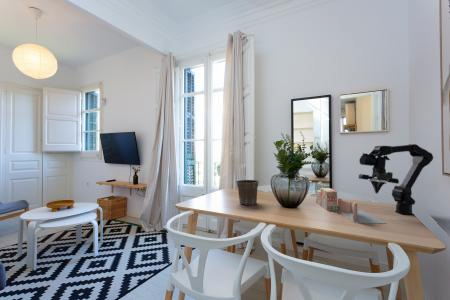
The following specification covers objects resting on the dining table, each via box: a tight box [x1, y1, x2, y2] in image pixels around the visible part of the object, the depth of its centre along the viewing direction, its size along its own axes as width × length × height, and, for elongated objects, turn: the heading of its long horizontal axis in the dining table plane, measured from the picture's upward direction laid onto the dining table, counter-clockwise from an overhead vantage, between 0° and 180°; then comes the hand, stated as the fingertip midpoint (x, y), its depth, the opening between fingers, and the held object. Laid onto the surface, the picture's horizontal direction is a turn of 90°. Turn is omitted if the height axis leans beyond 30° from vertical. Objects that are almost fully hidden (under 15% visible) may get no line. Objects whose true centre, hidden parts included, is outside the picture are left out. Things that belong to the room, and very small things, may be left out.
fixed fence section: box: [337, 198, 353, 213], centre depth 133 cm, size 9×2×7 cm, turn 18°
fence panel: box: [352, 199, 358, 222], centre depth 120 cm, size 16×3×9 cm, turn 150°
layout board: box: [336, 208, 387, 224], centre depth 124 cm, size 15×25×1 cm, turn 173°
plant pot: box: [236, 179, 260, 206], centre depth 157 cm, size 16×16×16 cm
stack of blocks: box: [315, 187, 338, 212], centre depth 146 cm, size 21×6×12 cm, turn 174°
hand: (376, 193), depth 127 cm, fingers closed
